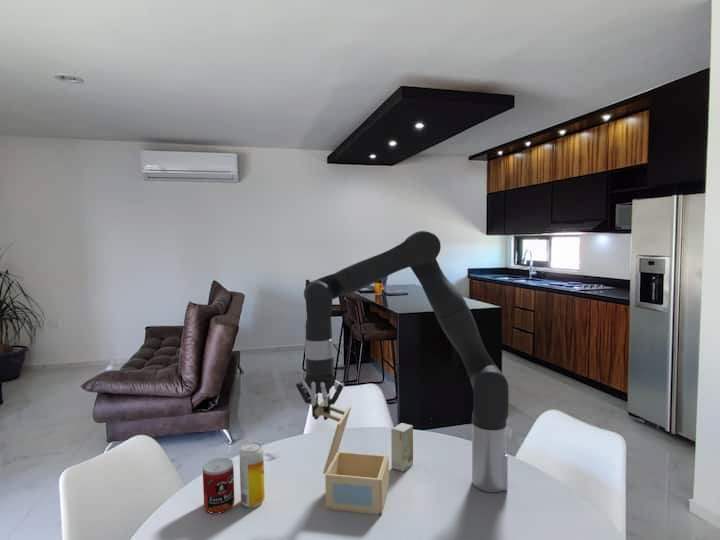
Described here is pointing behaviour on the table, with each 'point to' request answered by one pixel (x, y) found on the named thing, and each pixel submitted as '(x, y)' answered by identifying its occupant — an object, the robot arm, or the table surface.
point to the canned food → (218, 485)
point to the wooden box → (357, 483)
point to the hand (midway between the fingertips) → (321, 418)
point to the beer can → (252, 474)
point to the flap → (338, 432)
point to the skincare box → (402, 446)
